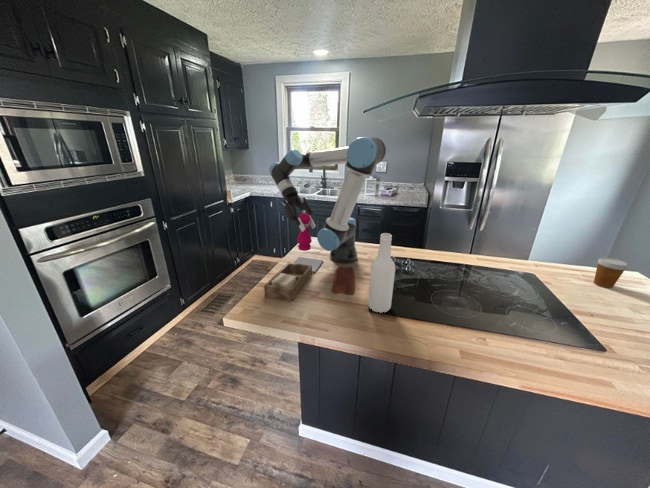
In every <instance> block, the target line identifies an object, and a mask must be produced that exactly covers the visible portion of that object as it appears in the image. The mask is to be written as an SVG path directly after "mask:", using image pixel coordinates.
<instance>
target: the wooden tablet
mask: <svg viewBox="0 0 650 488" xmlns="http://www.w3.org/2000/svg"><path fill="white" fill-rule="evenodd" d="M334 274H335V275H334V278H333V283H332V286H331V287H332V288H331V292H332V294H336V295H338V294H343V295H345V296H346V295H347V296H354V294H355V293H356V292H355V291H356V275H355V269H354V267H351V266H340V267H337V268H336V269H335V273H334Z"/></svg>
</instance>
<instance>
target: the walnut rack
mask: <svg viewBox="0 0 650 488" xmlns="http://www.w3.org/2000/svg"><path fill="white" fill-rule="evenodd" d="M280 274H286V275H291V276H296V283H295V284H294V285H293V286H292V288H291V289H290V288H284V287H278V286H272V281H273V280H274V279H275V278H276V277H277V276H279V275H280ZM312 276H313V273H312V266H310V265H303V264H296V263H294V262H289V261H288V262H287V263H286V264H285V265H284V266H283V267H282V268H281V269H280V270H278V271H277V272H276V273H275V274H274V275H273V276H272V277H271V278H270V279H269V280H268V281H267V282H266V283H265V284H264V285H263V289H264V297H267V298H272V299H279V300H283V301H288V302H294V300H295V298H297V296H298V295H299V293H300V292H301V291H302V289H303V288H304V287H305V286H306V284H307V282H308V281H309V280H310V278H311V277H312Z"/></svg>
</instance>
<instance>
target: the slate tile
mask: <svg viewBox="0 0 650 488" xmlns="http://www.w3.org/2000/svg"><path fill="white" fill-rule="evenodd" d="M293 263H296V264H303V265H310V266H312V274H317V273H316V272H317V271H318V270H319V269H320V267H321V266H322V265H323V263H324V259H316V258H311V257H302V256H298V257H297V258H296V260H295V261H294V262H293Z"/></svg>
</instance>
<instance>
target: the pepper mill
mask: <svg viewBox="0 0 650 488" xmlns="http://www.w3.org/2000/svg"><path fill="white" fill-rule="evenodd" d="M297 216H298V218H300V219H301V221H302V223H303V225H304V227H305V230H304V231H303V232H302V231H301V229H300V228H299V234H298V235H297V239H296V242H297V244H298V245H297V246H298V250H299V251H301V252H302V251H304V252H305V251H310V250H311V247H312V245H311V244H312V236H311V234H310V231H309V227H310V224H309V221H310V216H309V214H307V213H306V211H305V210H303V211H301V213H300V214H299V215H297Z"/></svg>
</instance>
